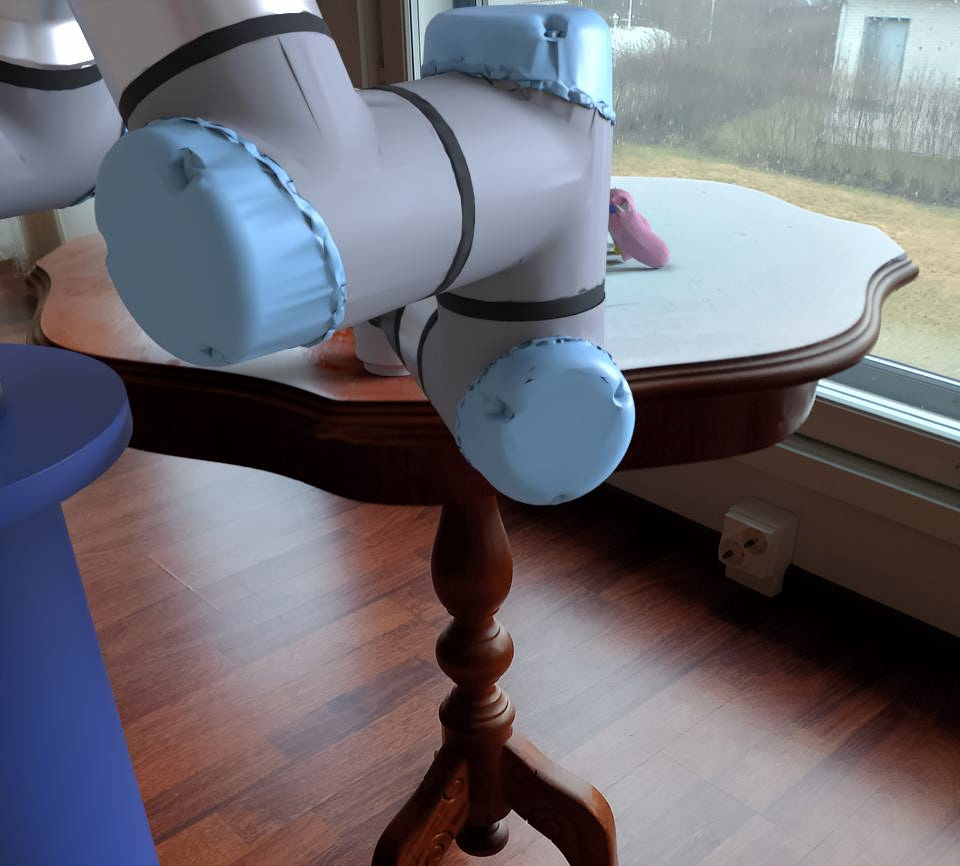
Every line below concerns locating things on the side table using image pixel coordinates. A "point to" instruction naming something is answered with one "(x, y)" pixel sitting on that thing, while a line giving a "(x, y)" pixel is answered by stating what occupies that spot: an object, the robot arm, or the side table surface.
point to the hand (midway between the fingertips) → (374, 231)
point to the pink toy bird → (634, 232)
